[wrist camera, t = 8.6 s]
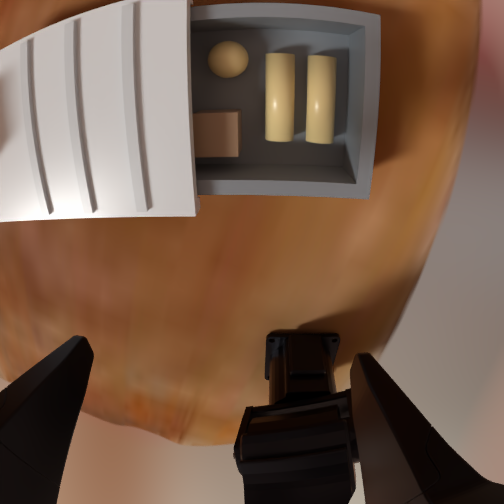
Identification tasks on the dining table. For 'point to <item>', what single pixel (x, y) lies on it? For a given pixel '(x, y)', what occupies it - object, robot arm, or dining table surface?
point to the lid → (100, 116)
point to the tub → (284, 99)
